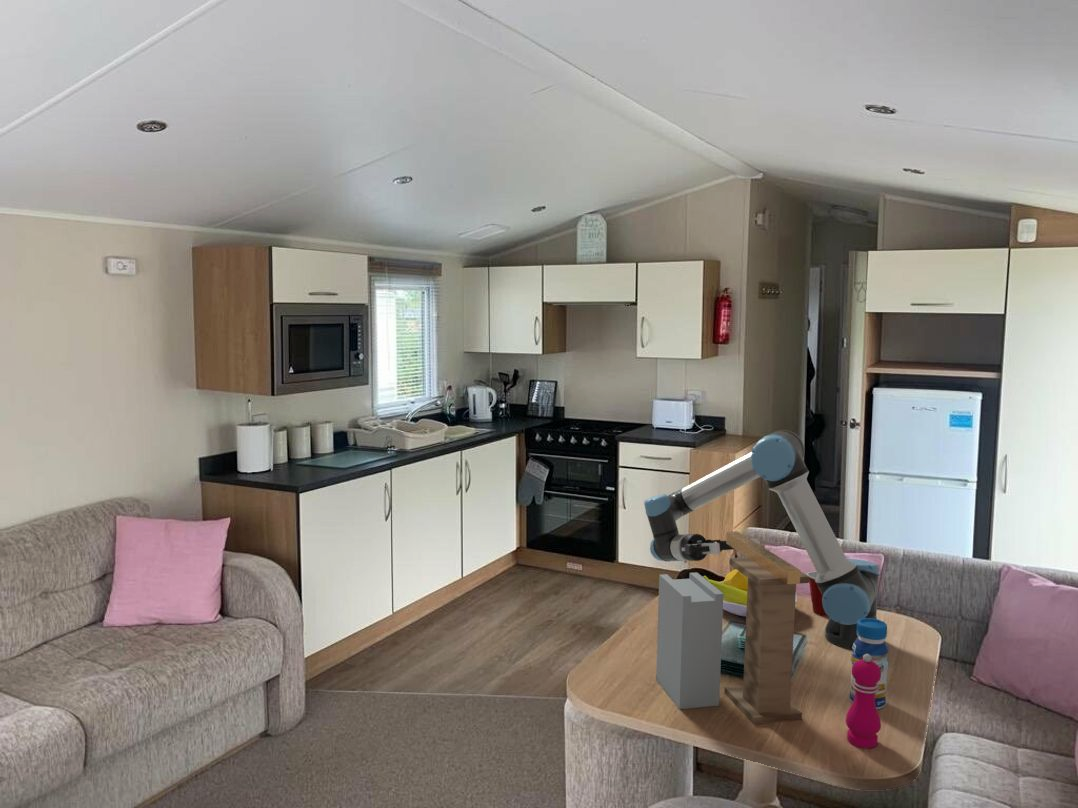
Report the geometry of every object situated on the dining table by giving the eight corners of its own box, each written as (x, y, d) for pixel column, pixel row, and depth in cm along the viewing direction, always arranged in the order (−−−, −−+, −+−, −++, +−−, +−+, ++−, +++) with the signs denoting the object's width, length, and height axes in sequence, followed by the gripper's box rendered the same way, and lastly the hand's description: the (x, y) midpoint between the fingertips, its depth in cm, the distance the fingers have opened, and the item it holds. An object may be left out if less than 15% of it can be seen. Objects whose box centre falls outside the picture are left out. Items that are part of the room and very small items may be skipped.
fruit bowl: (795, 600, 280) (796, 566, 278) (796, 631, 254) (797, 594, 252) (706, 591, 287) (707, 558, 286) (698, 621, 261) (699, 584, 260)
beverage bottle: (889, 700, 211) (895, 621, 208) (881, 714, 204) (886, 632, 201) (853, 691, 216) (858, 613, 213) (844, 704, 209) (849, 624, 206)
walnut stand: (724, 692, 214) (729, 558, 210) (769, 688, 217) (775, 555, 212) (753, 724, 198) (760, 579, 194) (801, 719, 201) (809, 576, 197)
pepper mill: (884, 750, 188) (890, 661, 185) (850, 749, 188) (856, 660, 185) (872, 733, 195) (878, 647, 192) (840, 732, 195) (845, 647, 193)
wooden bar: (726, 543, 222) (726, 531, 222) (737, 542, 223) (737, 531, 223) (787, 584, 191) (788, 571, 191) (799, 583, 192) (800, 570, 192)
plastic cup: (845, 610, 271) (847, 573, 270) (836, 621, 262) (839, 582, 261) (810, 603, 277) (812, 567, 275) (800, 614, 268) (802, 576, 266)
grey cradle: (656, 679, 221) (659, 574, 217) (693, 676, 223) (697, 572, 219) (679, 709, 205) (683, 596, 202) (719, 705, 207) (723, 593, 204)
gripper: (725, 556, 254) (776, 556, 235) (655, 565, 242) (702, 565, 224) (723, 530, 255) (773, 528, 236) (652, 537, 243) (699, 535, 225)
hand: (739, 546), depth 230 cm, fingers open, 13 cm apart
